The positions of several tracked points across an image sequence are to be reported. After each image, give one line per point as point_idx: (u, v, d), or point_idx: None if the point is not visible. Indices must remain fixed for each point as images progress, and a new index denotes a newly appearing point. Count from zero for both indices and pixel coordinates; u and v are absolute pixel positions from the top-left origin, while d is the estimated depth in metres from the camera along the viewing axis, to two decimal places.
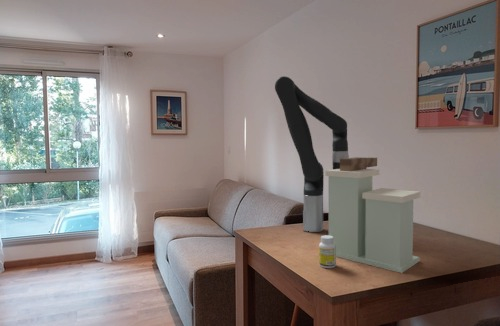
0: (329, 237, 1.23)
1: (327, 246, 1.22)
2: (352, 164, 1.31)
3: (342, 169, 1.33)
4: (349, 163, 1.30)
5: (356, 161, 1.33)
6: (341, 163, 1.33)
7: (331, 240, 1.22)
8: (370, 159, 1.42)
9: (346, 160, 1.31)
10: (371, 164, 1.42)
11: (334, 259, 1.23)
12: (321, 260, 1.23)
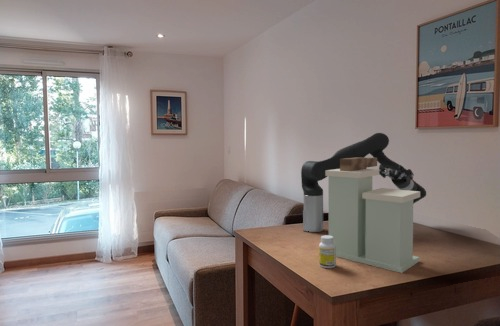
0: (329, 237, 1.23)
1: (327, 246, 1.22)
2: (352, 164, 1.31)
3: (342, 169, 1.33)
4: (349, 163, 1.30)
5: (356, 161, 1.33)
6: (341, 163, 1.33)
7: (331, 240, 1.22)
8: (370, 159, 1.42)
9: (346, 160, 1.31)
10: (371, 164, 1.42)
11: (334, 259, 1.23)
12: (321, 260, 1.23)
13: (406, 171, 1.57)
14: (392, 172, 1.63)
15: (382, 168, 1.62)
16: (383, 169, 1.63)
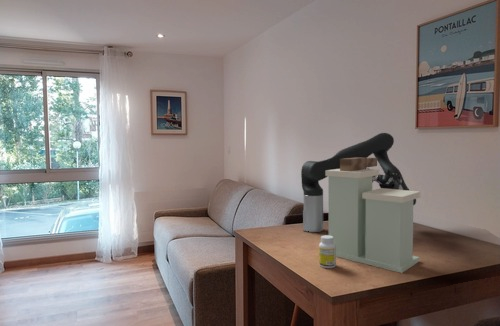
0: (329, 237, 1.23)
1: (327, 246, 1.22)
2: (352, 164, 1.31)
3: (342, 169, 1.33)
4: (349, 163, 1.30)
5: (356, 161, 1.33)
6: (341, 163, 1.33)
7: (331, 240, 1.22)
8: (370, 159, 1.42)
9: (346, 160, 1.31)
10: (371, 164, 1.42)
11: (334, 259, 1.23)
12: (321, 260, 1.23)
13: (394, 176, 1.48)
14: (380, 177, 1.55)
15: None
16: None
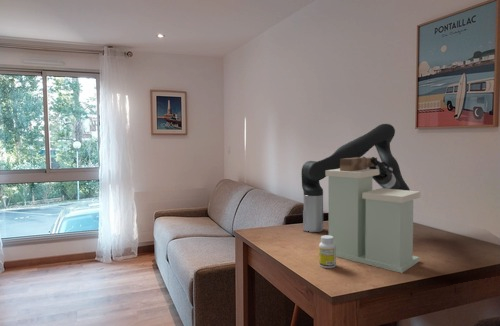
0: (329, 237, 1.23)
1: (327, 246, 1.22)
2: (352, 164, 1.31)
3: (342, 169, 1.33)
4: (349, 163, 1.30)
5: (356, 161, 1.33)
6: (341, 163, 1.33)
7: (331, 240, 1.22)
8: (370, 159, 1.42)
9: (346, 160, 1.31)
10: (371, 164, 1.42)
11: (334, 259, 1.23)
12: (321, 260, 1.23)
13: (380, 164, 1.44)
14: (375, 167, 1.48)
15: None
16: None
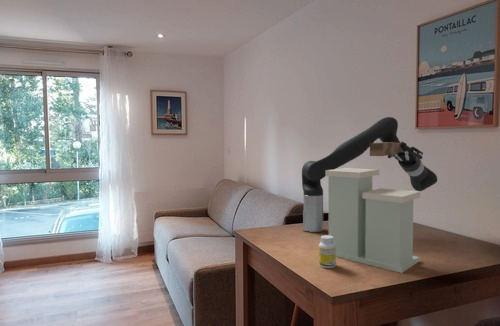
0: (329, 237, 1.23)
1: (327, 246, 1.22)
2: (383, 148, 1.22)
3: (372, 154, 1.24)
4: (380, 147, 1.22)
5: (387, 145, 1.25)
6: (371, 148, 1.24)
7: (331, 240, 1.22)
8: (400, 143, 1.34)
9: (377, 144, 1.23)
10: (400, 149, 1.34)
11: (334, 259, 1.23)
12: (320, 260, 1.23)
13: (409, 149, 1.35)
14: (403, 153, 1.40)
15: None
16: None
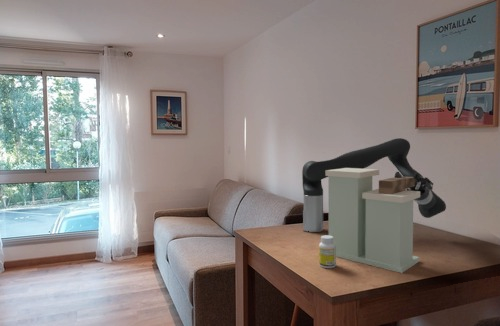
0: (329, 237, 1.23)
1: (327, 246, 1.22)
2: (392, 186, 1.21)
3: (381, 192, 1.23)
4: (390, 185, 1.20)
5: (397, 183, 1.23)
6: (380, 185, 1.23)
7: (331, 240, 1.22)
8: (409, 179, 1.32)
9: (386, 182, 1.21)
10: (409, 185, 1.32)
11: (334, 259, 1.23)
12: (321, 260, 1.23)
13: (422, 180, 1.33)
14: None
15: (398, 176, 1.37)
16: (400, 177, 1.37)
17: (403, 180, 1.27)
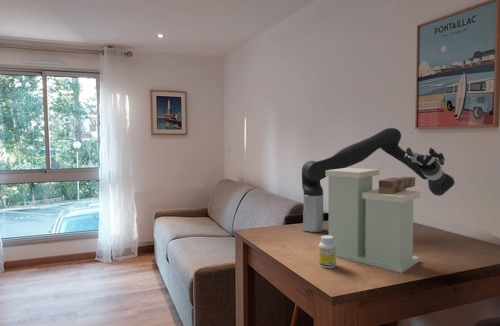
0: (329, 237, 1.23)
1: (327, 246, 1.22)
2: (392, 186, 1.21)
3: (381, 192, 1.23)
4: (390, 185, 1.20)
5: (397, 183, 1.23)
6: (380, 185, 1.23)
7: (331, 240, 1.22)
8: (409, 179, 1.32)
9: (386, 182, 1.21)
10: (409, 185, 1.32)
11: (334, 259, 1.23)
12: (321, 260, 1.23)
13: (437, 155, 1.40)
14: (420, 157, 1.46)
15: (409, 152, 1.46)
16: (410, 153, 1.46)
17: (403, 180, 1.27)
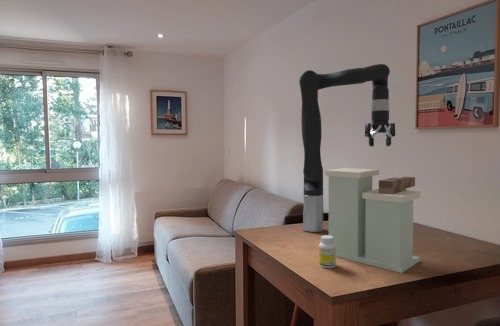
0: (329, 237, 1.23)
1: (327, 246, 1.22)
2: (392, 186, 1.21)
3: (381, 192, 1.23)
4: (390, 185, 1.20)
5: (397, 183, 1.23)
6: (380, 185, 1.23)
7: (331, 240, 1.22)
8: (409, 179, 1.32)
9: (386, 182, 1.21)
10: (409, 185, 1.32)
11: (334, 259, 1.23)
12: (321, 260, 1.23)
13: None
14: (377, 132, 1.62)
15: None
16: None
17: (403, 180, 1.27)
